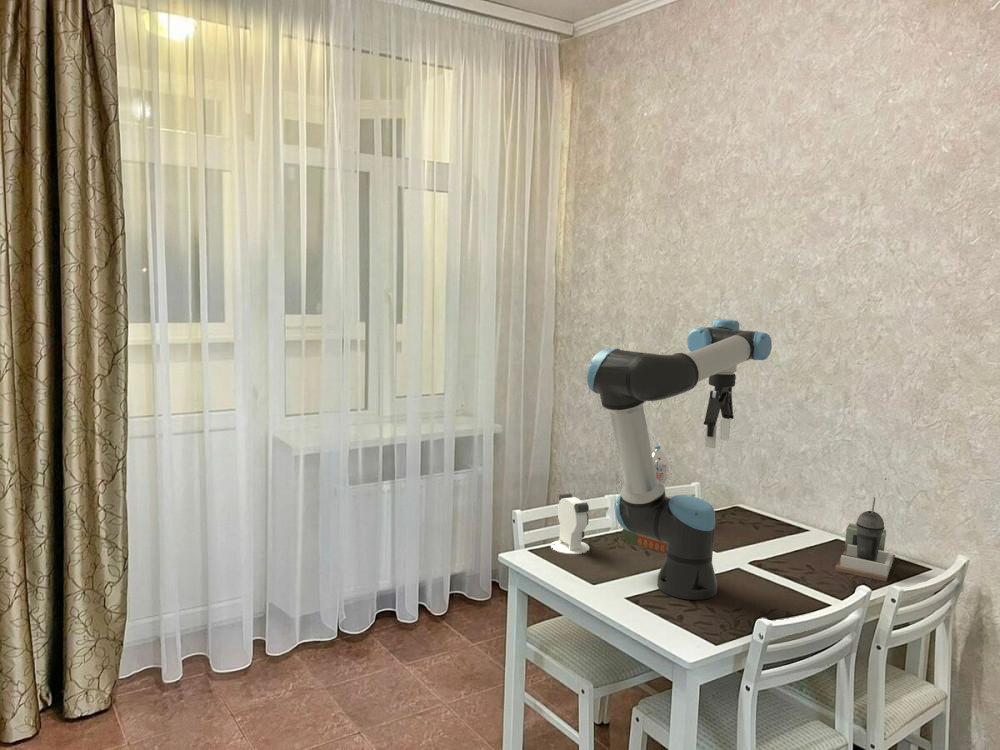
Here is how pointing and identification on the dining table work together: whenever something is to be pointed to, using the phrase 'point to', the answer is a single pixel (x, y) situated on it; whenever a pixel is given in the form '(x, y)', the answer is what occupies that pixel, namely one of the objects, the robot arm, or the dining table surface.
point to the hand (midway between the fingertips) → (717, 443)
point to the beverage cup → (869, 534)
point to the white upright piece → (571, 525)
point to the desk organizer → (852, 540)
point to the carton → (644, 541)
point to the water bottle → (660, 465)
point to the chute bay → (865, 564)
